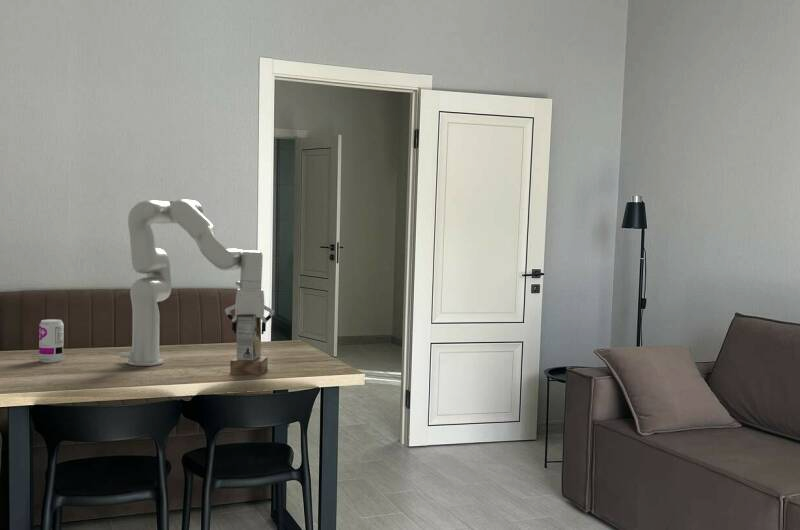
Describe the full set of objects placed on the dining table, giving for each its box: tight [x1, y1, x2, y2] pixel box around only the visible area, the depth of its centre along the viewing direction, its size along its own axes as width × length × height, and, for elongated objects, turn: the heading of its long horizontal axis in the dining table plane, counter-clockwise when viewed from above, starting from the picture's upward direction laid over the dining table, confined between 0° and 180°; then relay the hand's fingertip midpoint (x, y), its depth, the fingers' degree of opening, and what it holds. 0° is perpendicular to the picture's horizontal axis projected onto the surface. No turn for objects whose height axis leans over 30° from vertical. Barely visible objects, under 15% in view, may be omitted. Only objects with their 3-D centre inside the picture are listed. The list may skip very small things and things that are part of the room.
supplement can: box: [38, 318, 65, 364], centre depth 297 cm, size 8×8×15 cm
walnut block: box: [229, 355, 269, 375], centre depth 290 cm, size 11×11×5 cm
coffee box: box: [236, 315, 262, 361], centre depth 289 cm, size 9×6×16 cm
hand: (248, 333), depth 289 cm, fingers open, 9 cm apart
